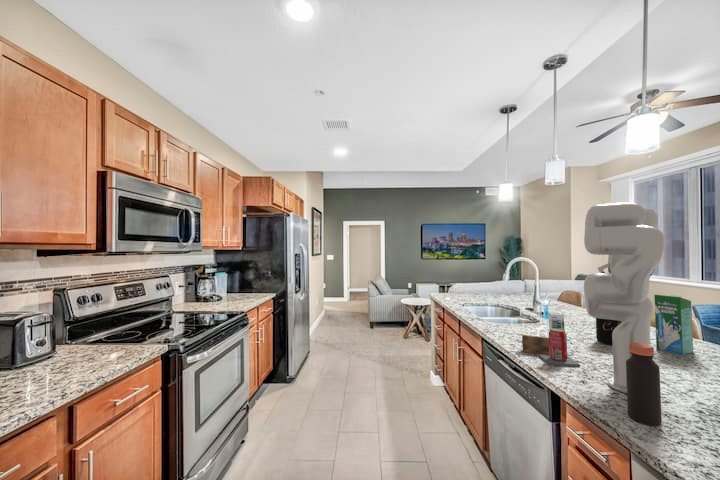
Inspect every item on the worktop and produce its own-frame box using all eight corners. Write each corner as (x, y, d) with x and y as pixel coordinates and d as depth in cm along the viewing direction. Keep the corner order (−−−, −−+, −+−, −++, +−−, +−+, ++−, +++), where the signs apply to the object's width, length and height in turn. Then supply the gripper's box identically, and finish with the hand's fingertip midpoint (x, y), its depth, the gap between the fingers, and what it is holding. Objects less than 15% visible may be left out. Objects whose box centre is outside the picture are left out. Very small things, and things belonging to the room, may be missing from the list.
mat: (580, 367, 122) (579, 364, 122) (549, 365, 123) (549, 363, 123) (565, 357, 133) (565, 355, 133) (538, 356, 134) (538, 353, 134)
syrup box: (551, 343, 152) (550, 313, 153) (549, 340, 158) (548, 311, 158) (565, 344, 150) (564, 314, 150) (562, 341, 155) (561, 312, 156)
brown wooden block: (558, 353, 138) (557, 337, 138) (559, 356, 133) (558, 340, 133) (522, 348, 144) (522, 333, 145) (522, 352, 140) (522, 336, 140)
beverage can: (562, 356, 131) (561, 327, 131) (570, 361, 124) (569, 331, 125) (546, 356, 131) (545, 327, 132) (554, 361, 125) (553, 331, 126)
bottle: (639, 425, 81) (636, 348, 82) (621, 412, 88) (619, 341, 89) (668, 427, 80) (665, 349, 81) (648, 413, 87) (646, 342, 88)
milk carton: (693, 352, 138) (691, 295, 138) (682, 354, 134) (680, 296, 135) (667, 346, 146) (665, 293, 147) (656, 348, 143) (654, 294, 143)
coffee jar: (602, 345, 149) (601, 307, 149) (592, 339, 159) (591, 303, 159) (629, 347, 145) (627, 308, 146) (617, 340, 156) (616, 304, 156)
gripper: (649, 245, 121) (651, 289, 121) (595, 246, 129) (596, 287, 129) (657, 245, 115) (659, 291, 114) (599, 246, 123) (600, 289, 122)
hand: (625, 289), depth 122 cm, fingers open, 9 cm apart
